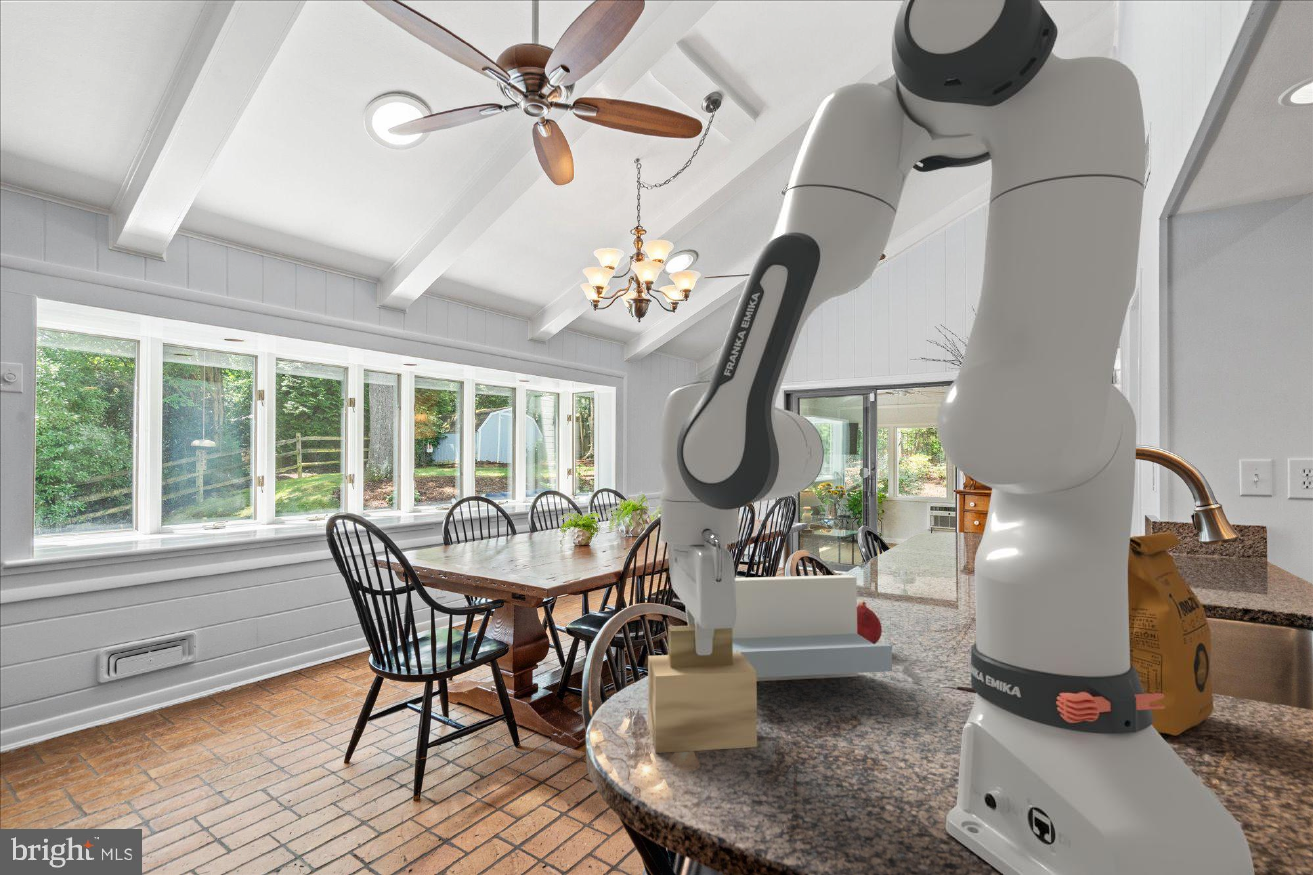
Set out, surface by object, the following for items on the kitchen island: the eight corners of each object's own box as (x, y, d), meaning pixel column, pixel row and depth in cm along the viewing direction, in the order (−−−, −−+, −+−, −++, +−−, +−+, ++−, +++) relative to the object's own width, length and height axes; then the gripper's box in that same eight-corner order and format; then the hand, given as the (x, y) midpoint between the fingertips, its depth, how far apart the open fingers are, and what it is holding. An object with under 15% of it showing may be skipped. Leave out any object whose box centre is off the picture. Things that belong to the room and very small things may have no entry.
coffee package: (1232, 725, 72) (1225, 534, 73) (1179, 749, 66) (1172, 541, 67) (1134, 697, 81) (1129, 526, 82) (1080, 715, 75) (1074, 532, 76)
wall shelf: (892, 703, 79) (891, 591, 80) (739, 711, 77) (738, 596, 77) (851, 671, 91) (850, 574, 92) (717, 677, 89) (716, 578, 89)
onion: (884, 658, 97) (883, 606, 98) (846, 655, 99) (845, 604, 99) (879, 647, 103) (878, 598, 103) (842, 645, 104) (842, 596, 105)
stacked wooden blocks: (757, 746, 67) (756, 634, 68) (655, 753, 66) (655, 638, 66) (740, 720, 74) (739, 618, 75) (648, 725, 73) (648, 621, 73)
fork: (1036, 708, 78) (1036, 692, 78) (902, 684, 87) (901, 670, 87) (1036, 701, 81) (1036, 685, 81) (905, 679, 89) (905, 665, 89)
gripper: (751, 535, 61) (752, 679, 60) (708, 517, 81) (708, 624, 81) (687, 536, 60) (688, 682, 60) (660, 517, 81) (660, 626, 80)
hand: (700, 648), depth 70 cm, fingers closed on stacked wooden blocks
